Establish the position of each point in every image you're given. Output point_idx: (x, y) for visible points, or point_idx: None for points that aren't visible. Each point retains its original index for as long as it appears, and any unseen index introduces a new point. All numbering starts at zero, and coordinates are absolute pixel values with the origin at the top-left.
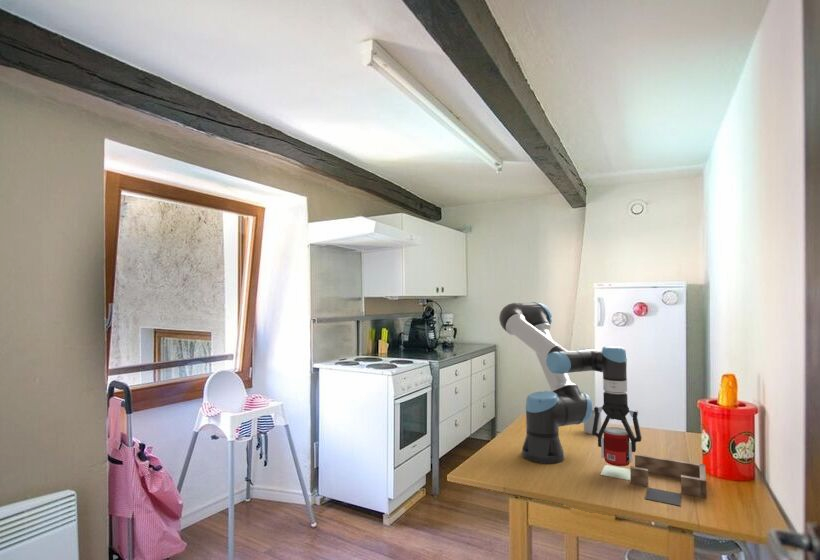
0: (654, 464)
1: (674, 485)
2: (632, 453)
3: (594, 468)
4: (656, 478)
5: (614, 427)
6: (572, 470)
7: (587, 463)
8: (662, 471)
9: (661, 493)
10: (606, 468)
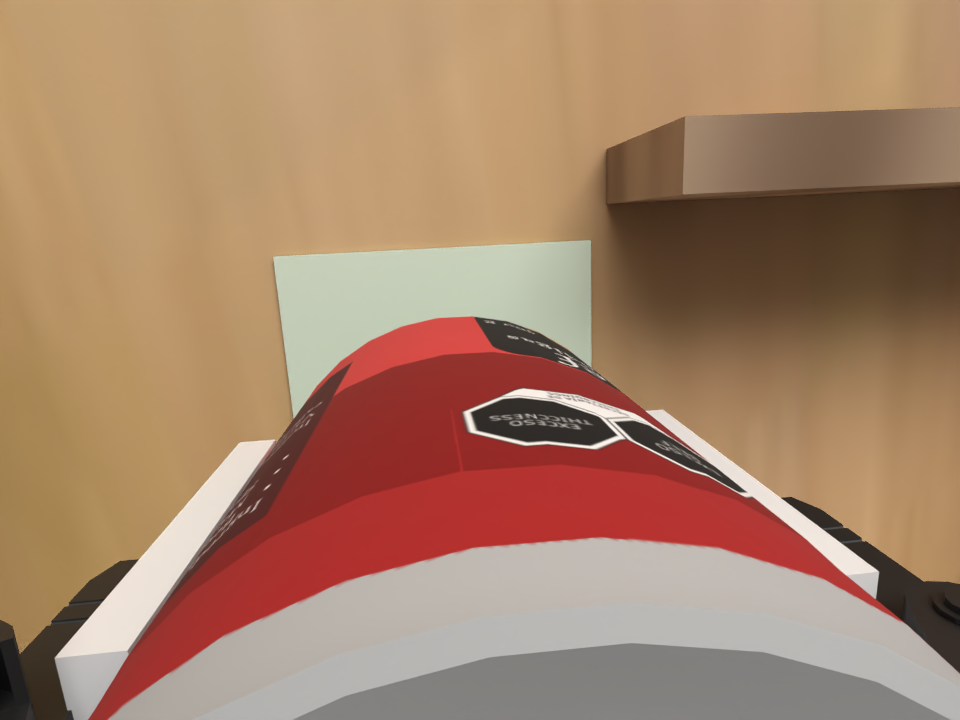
0: (875, 188)
1: (951, 432)
2: (709, 448)
3: (201, 434)
4: (814, 348)
5: (360, 716)
6: (22, 626)
7: (67, 317)
8: (901, 189)
9: None
10: (320, 371)
